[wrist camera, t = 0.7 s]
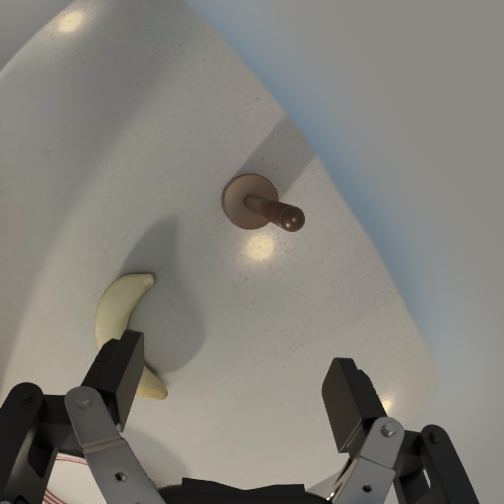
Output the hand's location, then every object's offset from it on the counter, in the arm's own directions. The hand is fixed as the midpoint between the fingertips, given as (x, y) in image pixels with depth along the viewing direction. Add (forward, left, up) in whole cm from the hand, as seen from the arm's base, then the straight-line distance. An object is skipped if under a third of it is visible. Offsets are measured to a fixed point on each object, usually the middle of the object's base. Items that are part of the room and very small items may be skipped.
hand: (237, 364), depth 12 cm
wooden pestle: (-4, +5, -20) cm, 21 cm away
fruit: (+8, -10, -20) cm, 24 cm away
